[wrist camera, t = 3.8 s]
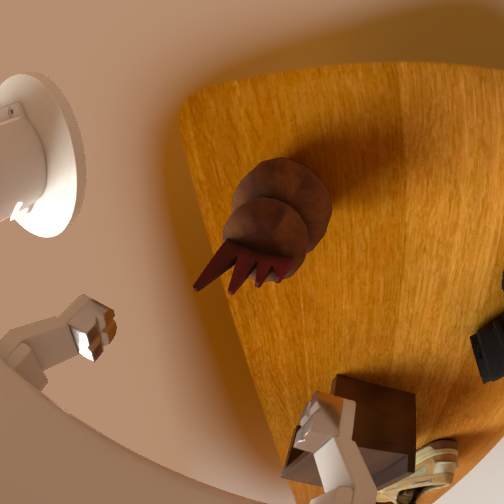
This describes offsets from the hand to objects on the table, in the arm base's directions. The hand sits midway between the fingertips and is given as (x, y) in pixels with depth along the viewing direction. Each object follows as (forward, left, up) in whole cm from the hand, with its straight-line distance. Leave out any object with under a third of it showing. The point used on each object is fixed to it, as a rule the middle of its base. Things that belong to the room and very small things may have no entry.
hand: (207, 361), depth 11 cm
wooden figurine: (0, 0, -19) cm, 19 cm away
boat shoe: (+39, -46, -19) cm, 63 cm away
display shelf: (+18, -30, -18) cm, 40 cm away
